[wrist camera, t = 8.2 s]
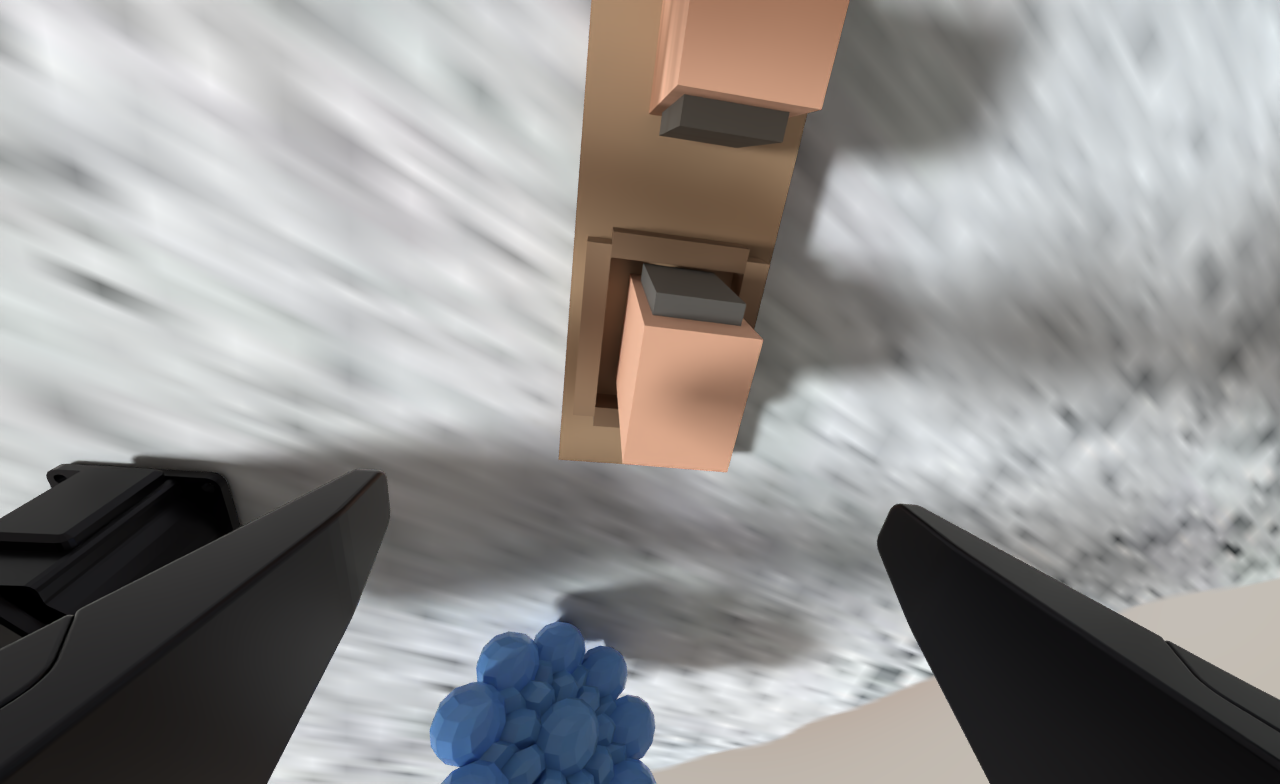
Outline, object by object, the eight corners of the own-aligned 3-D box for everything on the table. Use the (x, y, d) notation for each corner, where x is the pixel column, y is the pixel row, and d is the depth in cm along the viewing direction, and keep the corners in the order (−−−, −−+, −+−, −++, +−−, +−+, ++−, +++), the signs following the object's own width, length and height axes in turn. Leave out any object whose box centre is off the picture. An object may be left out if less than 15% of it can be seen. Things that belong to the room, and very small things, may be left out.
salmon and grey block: (690, 383, 19) (726, 472, 13) (615, 376, 18) (622, 463, 13) (715, 267, 17) (769, 316, 11) (632, 256, 16) (648, 301, 11)
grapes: (432, 630, 26) (312, 965, 15) (499, 555, 24) (417, 877, 13) (601, 700, 30) (601, 1006, 19) (671, 640, 28) (716, 943, 17)
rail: (711, 451, 22) (761, 577, 15) (561, 440, 21) (543, 569, 14) (848, -131, 14) (1091, -419, 7) (607, -190, 13) (615, -587, 6)
